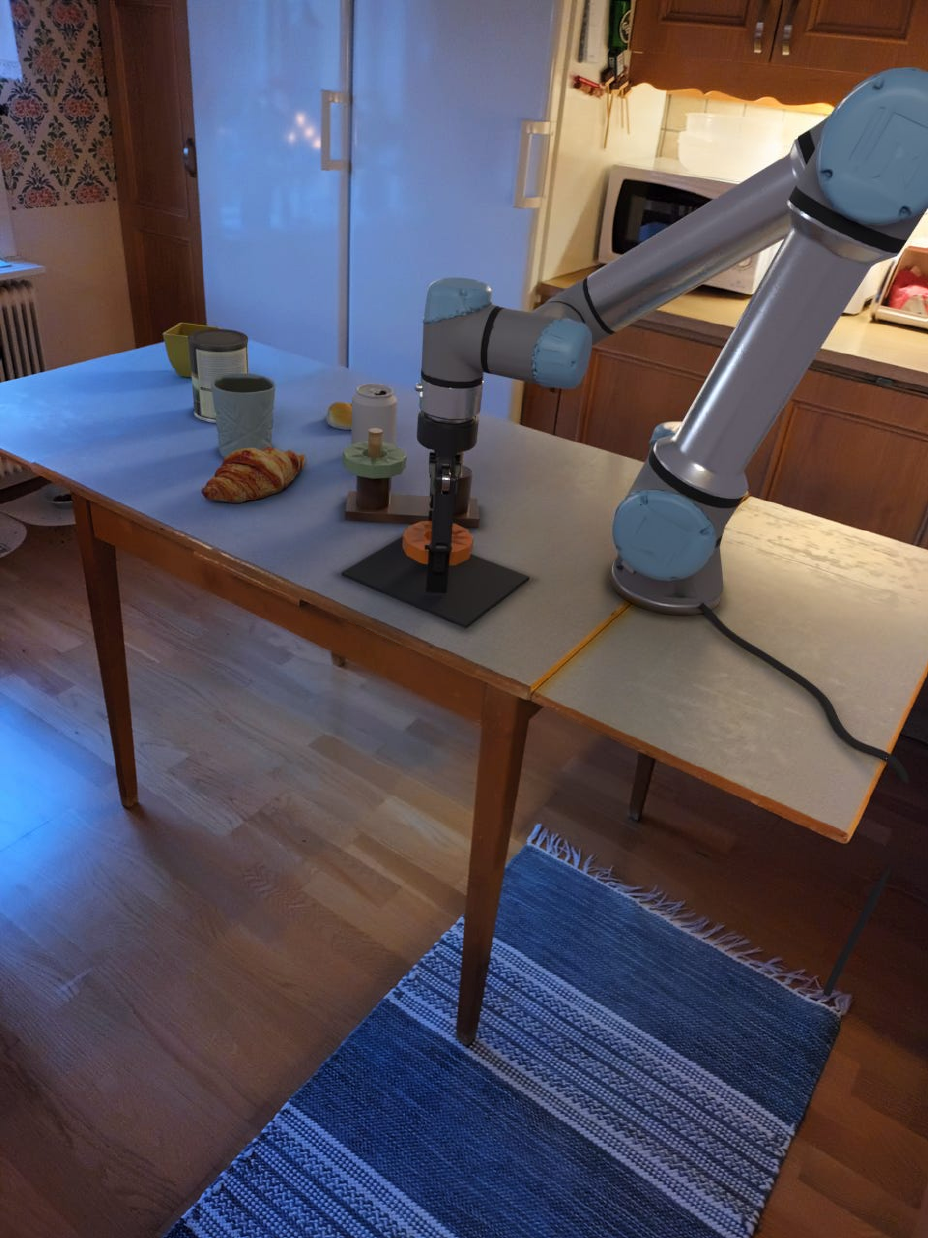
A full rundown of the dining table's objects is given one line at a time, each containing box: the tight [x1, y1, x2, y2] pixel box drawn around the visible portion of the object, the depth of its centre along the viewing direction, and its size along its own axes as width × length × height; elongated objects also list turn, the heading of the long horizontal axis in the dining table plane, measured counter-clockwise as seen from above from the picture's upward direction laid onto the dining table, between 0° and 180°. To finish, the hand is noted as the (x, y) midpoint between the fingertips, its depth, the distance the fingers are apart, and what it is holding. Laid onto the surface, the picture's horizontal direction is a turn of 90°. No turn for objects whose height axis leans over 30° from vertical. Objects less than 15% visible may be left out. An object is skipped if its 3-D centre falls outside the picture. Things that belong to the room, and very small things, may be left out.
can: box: [350, 383, 398, 446], centre depth 155 cm, size 8×8×12 cm
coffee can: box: [188, 328, 250, 424], centre depth 166 cm, size 10×10×14 cm
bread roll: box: [325, 401, 352, 431], centre depth 170 cm, size 8×9×4 cm
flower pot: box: [162, 322, 222, 379], centre depth 184 cm, size 9×9×9 cm
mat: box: [341, 536, 530, 629], centre depth 125 cm, size 20×16×1 cm
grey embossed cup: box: [211, 373, 276, 459], centre depth 152 cm, size 10×10×12 cm
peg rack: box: [344, 428, 480, 529], centre depth 137 cm, size 20×7×13 cm, turn 92°
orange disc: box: [402, 521, 474, 566], centre depth 122 cm, size 9×9×2 cm
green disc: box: [342, 442, 407, 478], centre depth 136 cm, size 9×9×2 cm
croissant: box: [201, 446, 307, 504], centre depth 143 cm, size 21×10×8 cm, turn 147°
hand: (435, 571), depth 125 cm, fingers closed on orange disc, 9 cm apart
